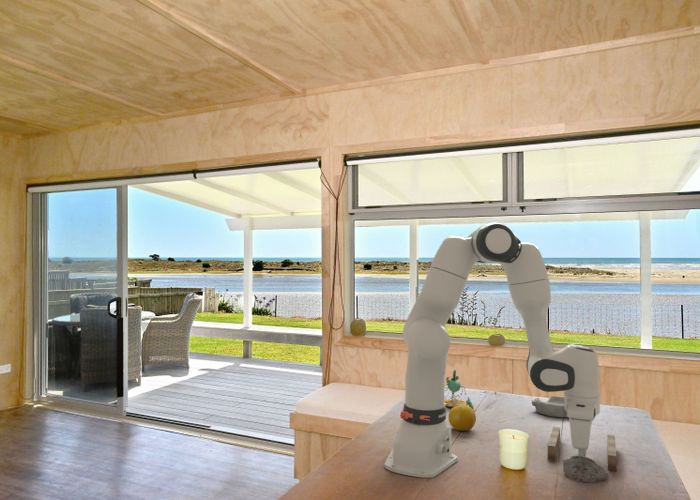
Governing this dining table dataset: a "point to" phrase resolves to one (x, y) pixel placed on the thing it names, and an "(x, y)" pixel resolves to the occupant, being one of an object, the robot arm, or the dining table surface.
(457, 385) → the green and yellow piece
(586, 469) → the rock
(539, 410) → the dish
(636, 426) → the dining table surface
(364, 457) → the dining table surface
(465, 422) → the fruit
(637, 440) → the dining table surface
